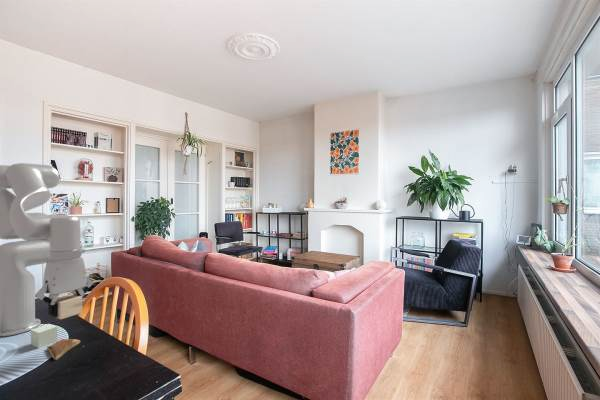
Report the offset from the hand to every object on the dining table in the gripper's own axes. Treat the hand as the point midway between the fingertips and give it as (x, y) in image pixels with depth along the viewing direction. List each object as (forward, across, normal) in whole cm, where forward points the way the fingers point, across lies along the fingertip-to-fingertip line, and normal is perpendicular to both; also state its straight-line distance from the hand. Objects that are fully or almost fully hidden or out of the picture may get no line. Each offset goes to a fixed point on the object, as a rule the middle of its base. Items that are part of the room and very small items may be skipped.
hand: (66, 312), depth 92 cm
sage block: (+12, +1, -11) cm, 16 cm away
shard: (+13, 0, -1) cm, 13 cm away
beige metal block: (+1, 0, 0) cm, 1 cm away
